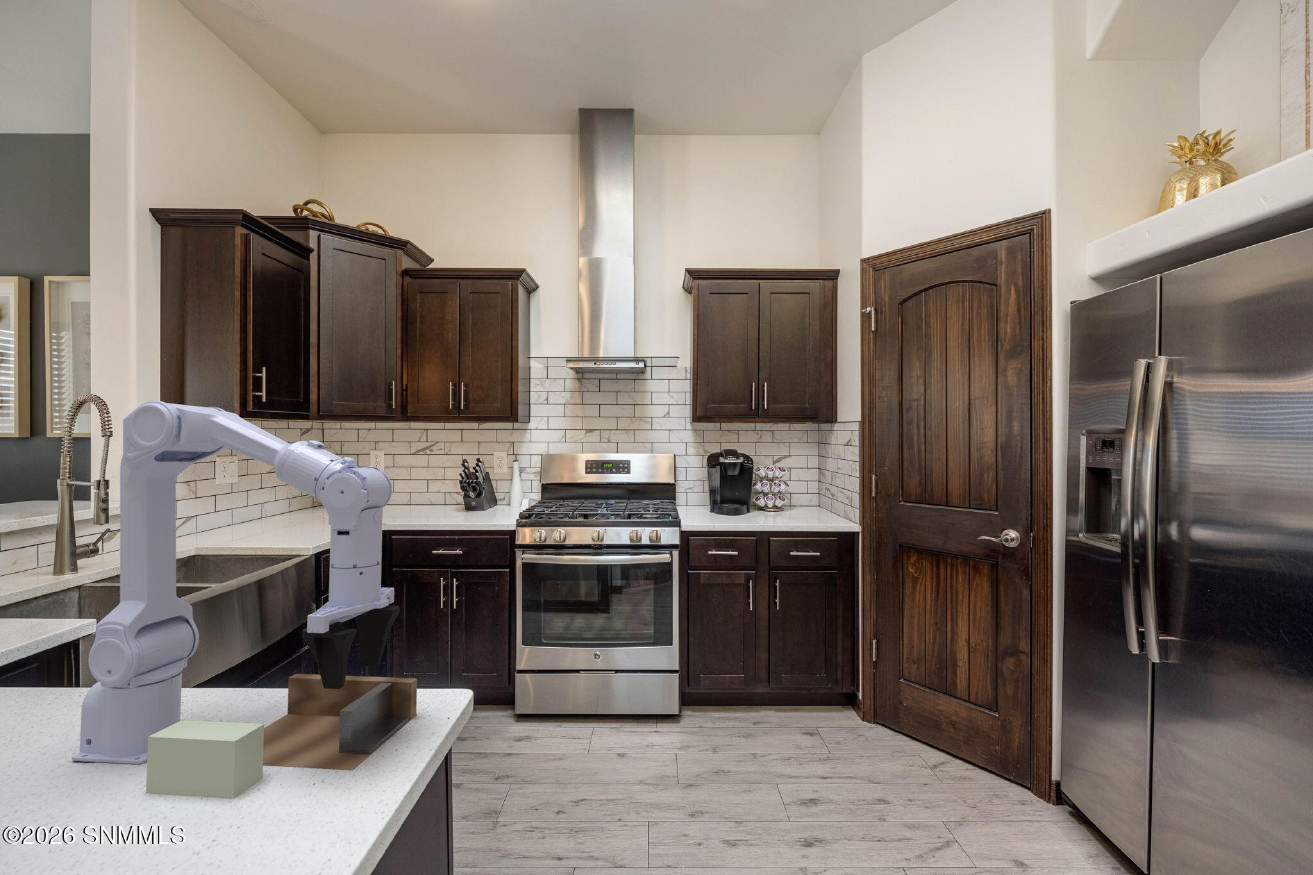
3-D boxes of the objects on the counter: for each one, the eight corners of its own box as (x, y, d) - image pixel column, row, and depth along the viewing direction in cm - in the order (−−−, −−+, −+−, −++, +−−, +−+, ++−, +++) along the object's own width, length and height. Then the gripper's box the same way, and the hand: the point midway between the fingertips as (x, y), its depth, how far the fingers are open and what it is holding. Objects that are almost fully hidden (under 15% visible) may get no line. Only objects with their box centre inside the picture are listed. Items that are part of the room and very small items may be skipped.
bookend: (339, 752, 70) (339, 710, 71) (380, 720, 79) (381, 682, 80) (369, 754, 70) (370, 712, 70) (408, 721, 79) (408, 683, 79)
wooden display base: (207, 770, 68) (208, 718, 68) (294, 716, 83) (296, 673, 83) (352, 778, 67) (353, 725, 67) (416, 722, 81) (417, 678, 81)
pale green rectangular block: (145, 803, 62) (148, 736, 62) (179, 783, 66) (182, 720, 66) (232, 809, 61) (235, 741, 61) (262, 787, 65) (264, 723, 65)
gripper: (350, 576, 65) (347, 700, 64) (416, 555, 79) (414, 656, 79) (291, 575, 65) (287, 698, 65) (366, 554, 80) (364, 655, 79)
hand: (353, 675), depth 72 cm, fingers open, 7 cm apart
